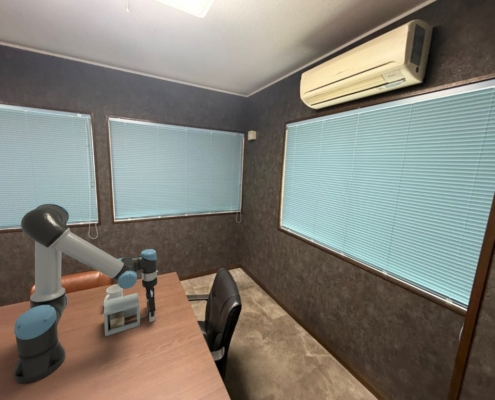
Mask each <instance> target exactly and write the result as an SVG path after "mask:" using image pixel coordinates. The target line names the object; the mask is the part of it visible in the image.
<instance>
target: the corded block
mask: <svg viewBox="0 0 495 400" xmlns="http://www.w3.org/2000/svg"><path fill="white" fill-rule="evenodd" d="M149 310H150V309H149V301H148V302H147V301H146V314H145V315H142V316H141V315H140V320H141V319H144V318H146V317H147V318H149V312H148V311H149ZM133 321H137V317H135V318H131V319H128V320H125V318H124V311H120V312H117V313H113V314H110V322H109V325H110V330H111V329H114V328H118V327H121V326H124V325H125V324H126V323H132V322H133Z"/></svg>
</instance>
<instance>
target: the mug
mask: <svg viewBox="0 0 495 400" xmlns="http://www.w3.org/2000/svg"><path fill="white" fill-rule="evenodd" d="M105 291H106V292H105V293H106V294H105V295H106V296H105V297H104V298H103V299H104V300H103V307H104V303H105V301H106V300H110V299H114V298H118V297H123V296H124V289H123V288H121V287H120V286H119V285H118V284H114V285H111V286H109V287H107V289H106V290H105Z"/></svg>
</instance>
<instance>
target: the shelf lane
mask: <svg viewBox="0 0 495 400" xmlns="http://www.w3.org/2000/svg"><path fill="white" fill-rule="evenodd" d="M120 311H124V319H125V318H130V317H133V316H136V318H137V320H136V321H135V322H130V323H128V324H124V326H121V327H118V328H114V329H111V328H110V329H109V325H110V314H113V313H117V312H120ZM140 317H141V313H140V299H139V295H138V292H136V293H132V294H128V295H127V294H126V295H123V297H118V298H114V299H110V300H106V301H105V303H104V306H103V318H104V319H103V321H104V322H103V323H104V335H105V337H107V336H110V335H114V334H117V333H120V332H123V331H126V330H130V329H133V328H137V327H140V326H141V319H140Z"/></svg>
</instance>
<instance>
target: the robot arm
mask: <svg viewBox="0 0 495 400" xmlns="http://www.w3.org/2000/svg"><path fill="white" fill-rule="evenodd" d="M69 218H70V213H69V211H68V209H67V208H66V207H65V206H64V205H61V204H59V203H54V202H53V203H52V202H51V203H50V202H49V203H43V204H40V205H38V206H37V207H36V208H34V209H32V210H30V211H28V212H26V213H25V214H24V216H23V217H22V219H21V220H20V228H21V231H22V232H23V233H24V234H25V236H27V237H28V238H29V239H31V240H32V241H34V292H33V293H32V294H31V295H29V296H30V297H29V309H27V311H25V312H23V313H22V314H20V315H19V316H18V317H17V319H16V321H14V328H13V329H14V335H15V341H16V349H17V354H18V359H17V360H16V365H15V366H14V370H13V377H14V380H15V382H17V383H18V384H31V383H34V382H37V381H40V380H42V379H44V378H45V377H47V376H49V375H51V374H52V373H53V372H55V371H56V370H57V369H59V367H60V366H61V365H62V364H63V363H64V361H65V358H66V350H65V348H64V346H63V345H62V343H61V342H60V340H59V334H58V333H59V332H58V325H59V323H60V320H61V318H62V316H63V314H64V311H65V309H66V306H68V295H67V293H66V288H65V287H63V286H62V257H63V256H62V255H63V254H65V255H67V256H69V257H70V258H73V259H75V260H76V261H78V262H80V263H82V264H84V265H86V266H88V267H90V268H92V269H93V270H95V271H97V272H99V273H100V274H103V275H104V276H106V277H108V278H110V279H112V280H114V281H116V282H117V285H119V286H120V287H121V288H123V290H128V289H131V288H132V287H134V286H135V284H136V283H137V281H138V272H137V271H141V286H142V287H143V288H145V296H146V303H147V302H148V301H149V309H150V310H149V311H148V312H149V317H148V319H149V323H152V322H154V321H156V311H157V310H156V298H155V294H156V293H155V287H156V286H157V284H158V273H159V270H158V259H157V258H158V257H157V251H156V250H155V249H151V248H149V249H148V248H147V249H144V250H142V251H141V252H140V254H139V255H134V256H133V255H132V256H125V257H124V256H123V257H120V258H116V257H114V256H113V255H111V254H109V253H107V252H106V251H104V250H103V249H101V248H99V247H97V246H96V245H94V244H92V243H90V242H89V241H87V240H85V239H84V238H82V237H80V236H78V235H76V234H75V233H73V232H72V231H71V229H70V227H68V225H67V223H68V221H69Z"/></svg>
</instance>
